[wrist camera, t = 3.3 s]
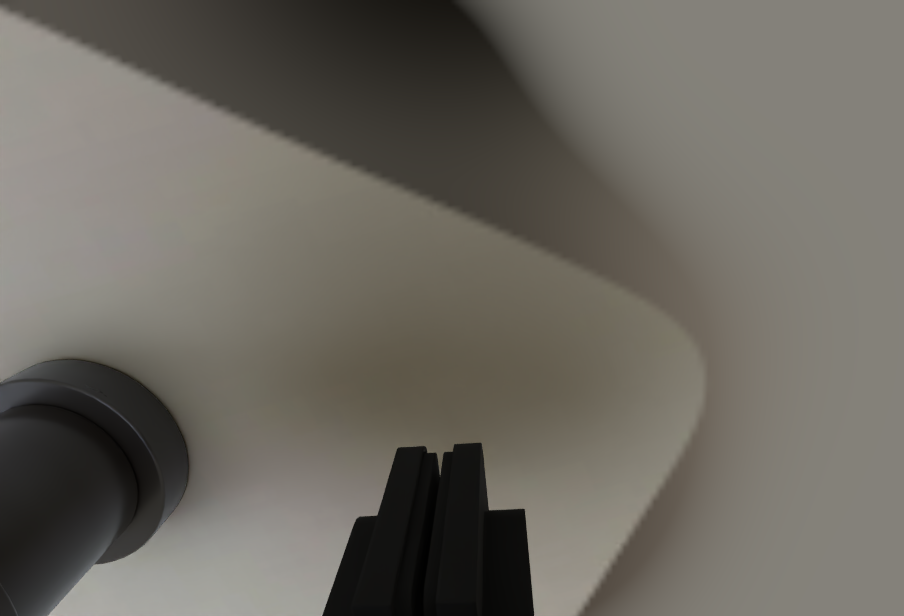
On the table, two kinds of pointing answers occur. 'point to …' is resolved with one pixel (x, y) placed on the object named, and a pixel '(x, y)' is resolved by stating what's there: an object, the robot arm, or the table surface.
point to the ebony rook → (79, 477)
